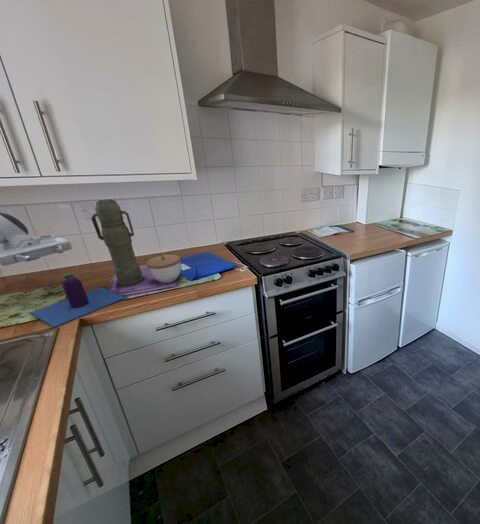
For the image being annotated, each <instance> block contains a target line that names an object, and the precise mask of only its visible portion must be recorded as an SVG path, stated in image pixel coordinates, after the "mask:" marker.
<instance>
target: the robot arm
mask: <svg viewBox="0 0 480 524" xmlns="http://www.w3.org/2000/svg"><path fill="white" fill-rule="evenodd" d="M0 248H1V249H2V251H0V265H1V266H10V265H14V264H18V263H22V262H25V263H27V262H31V261H35V260H38V259H40V258H42V257H46V256H50V255H53V254H63V253H65V252H66V251H70V250H72V249H73V246H72V242H71V241H70V240H69V239H67V238H64V237H58V236H56V235H53V234H52V235H50V234H49V235H42V236H30V235H29V229H28V227H27V226H26V225H25V224H24V223H23V222H22V221H20V220H19V219H18V218H16V217H15V216H13V215H11V214H9V213H5V212H0Z"/></svg>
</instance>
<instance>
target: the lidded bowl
mask: <svg viewBox="0 0 480 524" xmlns="http://www.w3.org/2000/svg"><path fill="white" fill-rule="evenodd" d="M145 264H146V265H145V266H146V267H147V270H148V273H149V274H150V276H151V277H152V278H153V279H154V280H156V281H158V282H159V283H163V284H166V283H171V282H175V281H176V280H177V279H179V278H178V277H179V276H180V275H181V272H182V262H181V257H180V256H179V255H176V254H164V255H162V254H161V255H159V256H154V257H152V258H150V259H148V260H147V261H146V262H145Z"/></svg>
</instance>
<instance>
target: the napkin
mask: <svg viewBox="0 0 480 524" xmlns="http://www.w3.org/2000/svg"><path fill="white" fill-rule="evenodd" d="M85 293H86V295H87V298H88V300H89V303H88V304H87V305H85V306H83V307H80V308H72V307H71V306H70V303H69V301H68V299H67V298H66V299H64V300H61V301H58V302H56V303H53V304H50V305H48V306H47V305H46V306H44V307H42V308H40V309H35V310H33V311H31V312H30V314H31V315H32V316H34V317H36V318H38V319H39V320H41V321H43V322H44V323H45V324H48V325H49V326H51V327H53V328H57V327H60V326H61V325H64V324H66V323H68V322H71V321H73V320H77V319H78V318H81V317H84V316H85V315H88V314H91V313H93V312H96V311H98V310H100V309H102V308H105V307H107V306H110V305H112V304H115V303H117V302H119V301H122V300H124V299H126V296H124V295H121V294H119V293H117V292H114V291H111V290H109V289H107V288H105V287H102V286H100V287H97V288H95V289H91V290H89V291H85Z"/></svg>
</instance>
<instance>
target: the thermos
mask: <svg viewBox="0 0 480 524" xmlns="http://www.w3.org/2000/svg"><path fill="white" fill-rule="evenodd" d="M95 212H96V213H94V214H92V216H91V218H90V220H91V222H92V224H93V227H94V229H95V233H96V235H97V239H99V240H101V241H104V245H105V246H106V247H107V249H108V252H109V255H110V258H111V261H112V265H113V267H114V275H115V279H116V280H117V281H118V285H119V286H121V287H130V286H133V285H137V284H139V283H141V282H142V281H143V280H144V278H143V277H144V276H143V272H142V269H141V267H140V265H139V263H138V261H137V258H136V254H135V251H134V248H133V245H132V243H133V240H132V237H134V236H135V232H134V229H133V225H132V222H131V217H130V215H129V213H128V212H127V211H126V210H122V209H121V206H120V205H119V203H118V202H117V201H116V200H114V199H111V198H110V199H109V198H108V199H100V200H98V201H96V203H95ZM123 215H125V216H126V219H127V222H128V223H127V224H128V226H129V227H128V226H127V225H126V222H125V221H124V217H123ZM96 217H97V218H98V221H99V223H100V227H101V230H100V227H99V224H98V221H97V219H96ZM129 229H130V230H129Z"/></svg>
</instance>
